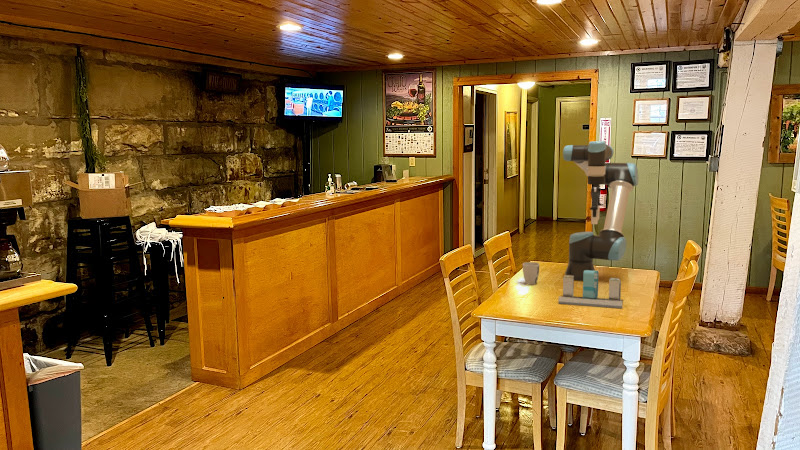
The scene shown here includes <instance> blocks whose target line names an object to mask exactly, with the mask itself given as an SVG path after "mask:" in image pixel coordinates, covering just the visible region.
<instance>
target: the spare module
mask: <svg viewBox="0 0 800 450" xmlns="http://www.w3.org/2000/svg"><path fill="white" fill-rule="evenodd" d="M621 288H622V281H621V280H619V300H621V293H622V292H621V290H622V289H621Z"/></svg>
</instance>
